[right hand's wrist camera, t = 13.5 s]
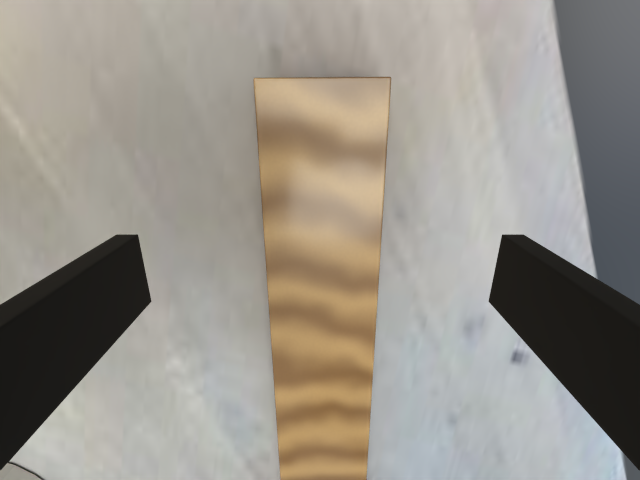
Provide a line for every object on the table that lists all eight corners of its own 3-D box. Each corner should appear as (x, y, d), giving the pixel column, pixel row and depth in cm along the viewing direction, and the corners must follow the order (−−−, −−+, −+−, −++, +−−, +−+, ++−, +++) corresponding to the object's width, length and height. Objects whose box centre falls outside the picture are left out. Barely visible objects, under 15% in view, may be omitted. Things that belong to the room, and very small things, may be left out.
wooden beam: (267, 84, 30) (253, 77, 24) (378, 83, 30) (391, 76, 24) (294, 574, 56) (290, 629, 50) (353, 575, 56) (357, 630, 50)
